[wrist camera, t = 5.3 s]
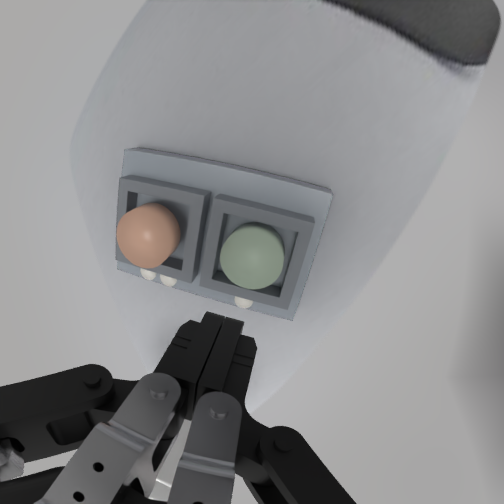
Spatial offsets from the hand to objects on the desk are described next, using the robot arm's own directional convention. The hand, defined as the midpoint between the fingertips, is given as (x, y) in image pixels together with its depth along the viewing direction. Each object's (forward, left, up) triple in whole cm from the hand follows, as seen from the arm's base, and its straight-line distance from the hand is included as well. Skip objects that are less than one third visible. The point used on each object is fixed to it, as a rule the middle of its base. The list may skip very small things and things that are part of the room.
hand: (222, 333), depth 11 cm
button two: (0, -7, -8) cm, 11 cm away
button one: (0, 0, -10) cm, 10 cm away
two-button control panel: (0, -4, -12) cm, 12 cm away
